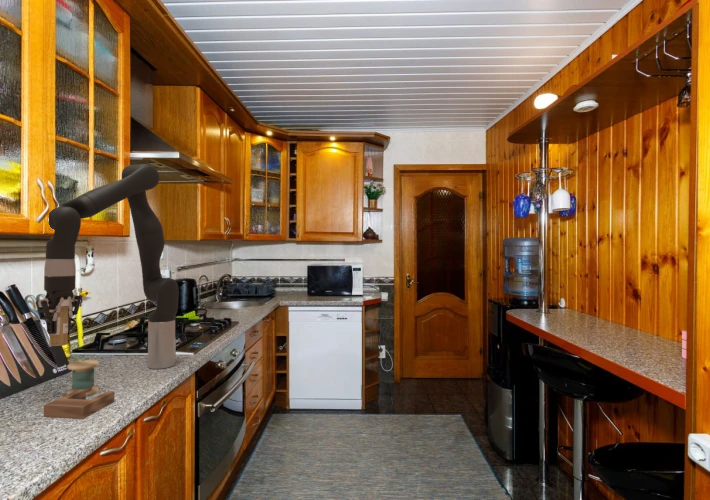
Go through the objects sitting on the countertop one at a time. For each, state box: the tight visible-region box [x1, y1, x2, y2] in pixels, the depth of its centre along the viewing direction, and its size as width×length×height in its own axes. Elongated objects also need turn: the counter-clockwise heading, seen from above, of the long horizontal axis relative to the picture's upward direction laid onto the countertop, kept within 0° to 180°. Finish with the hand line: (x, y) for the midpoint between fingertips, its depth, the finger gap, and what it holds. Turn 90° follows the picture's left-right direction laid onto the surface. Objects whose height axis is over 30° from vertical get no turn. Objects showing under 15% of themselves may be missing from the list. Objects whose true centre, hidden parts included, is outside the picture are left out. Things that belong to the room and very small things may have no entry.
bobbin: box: [66, 359, 100, 397], centre depth 124 cm, size 8×8×9 cm
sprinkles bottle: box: [48, 299, 69, 347], centre depth 120 cm, size 5×5×13 cm
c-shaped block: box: [43, 389, 115, 420], centre depth 112 cm, size 12×11×3 cm
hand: (59, 331), depth 120 cm, fingers closed on sprinkles bottle, 4 cm apart
